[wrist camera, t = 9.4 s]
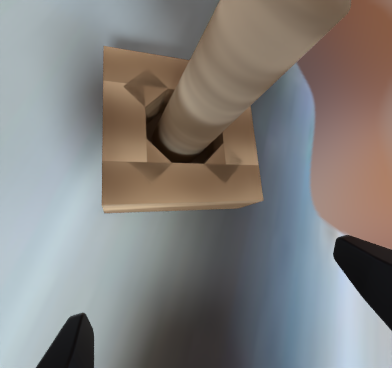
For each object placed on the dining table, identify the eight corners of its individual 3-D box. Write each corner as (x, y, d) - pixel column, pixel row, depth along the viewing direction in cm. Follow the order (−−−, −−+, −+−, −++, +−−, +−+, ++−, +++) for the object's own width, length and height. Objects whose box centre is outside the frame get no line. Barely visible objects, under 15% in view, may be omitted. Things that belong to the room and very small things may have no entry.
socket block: (237, 208, 22) (263, 200, 18) (104, 213, 18) (101, 204, 14) (225, 96, 24) (245, 69, 20) (105, 82, 20) (103, 45, 17)
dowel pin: (183, 175, 20) (337, 40, 7) (141, 146, 19) (236, -56, 7) (204, 140, 22) (359, -16, 9) (167, 113, 21) (280, -98, 8)
